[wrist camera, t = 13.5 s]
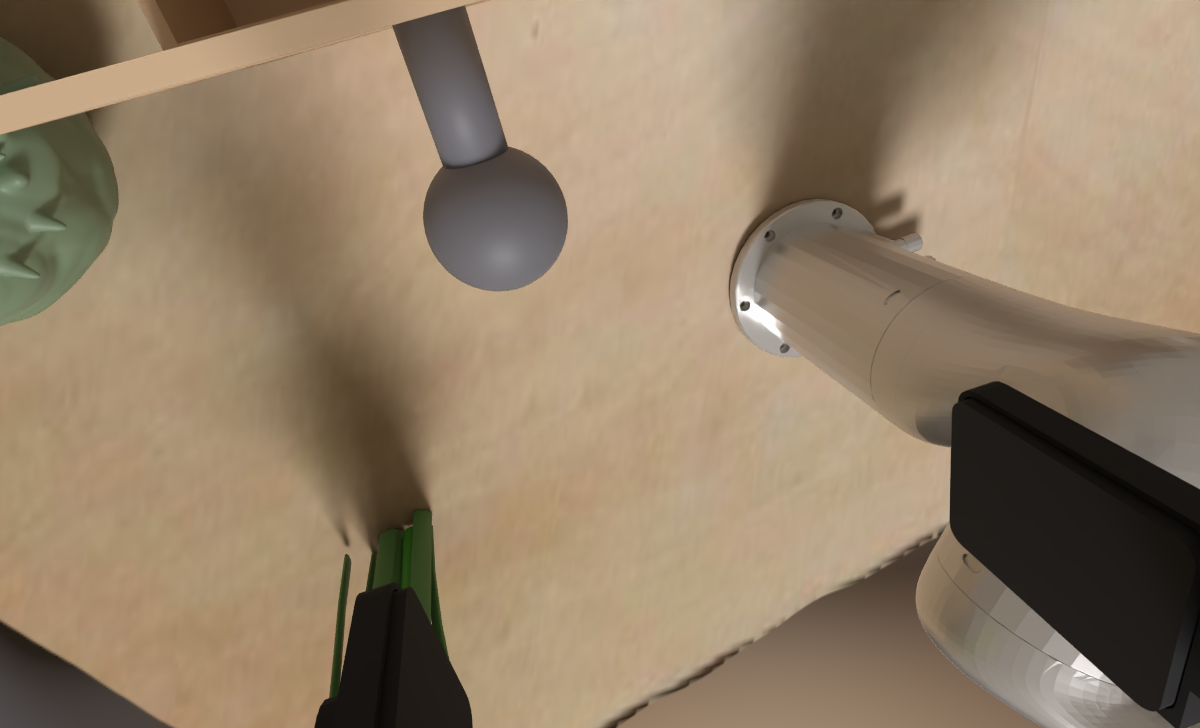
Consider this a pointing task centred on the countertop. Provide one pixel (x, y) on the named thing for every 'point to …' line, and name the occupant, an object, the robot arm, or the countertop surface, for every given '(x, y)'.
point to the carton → (219, 17)
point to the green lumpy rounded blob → (48, 199)
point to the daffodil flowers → (396, 578)
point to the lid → (447, 96)
